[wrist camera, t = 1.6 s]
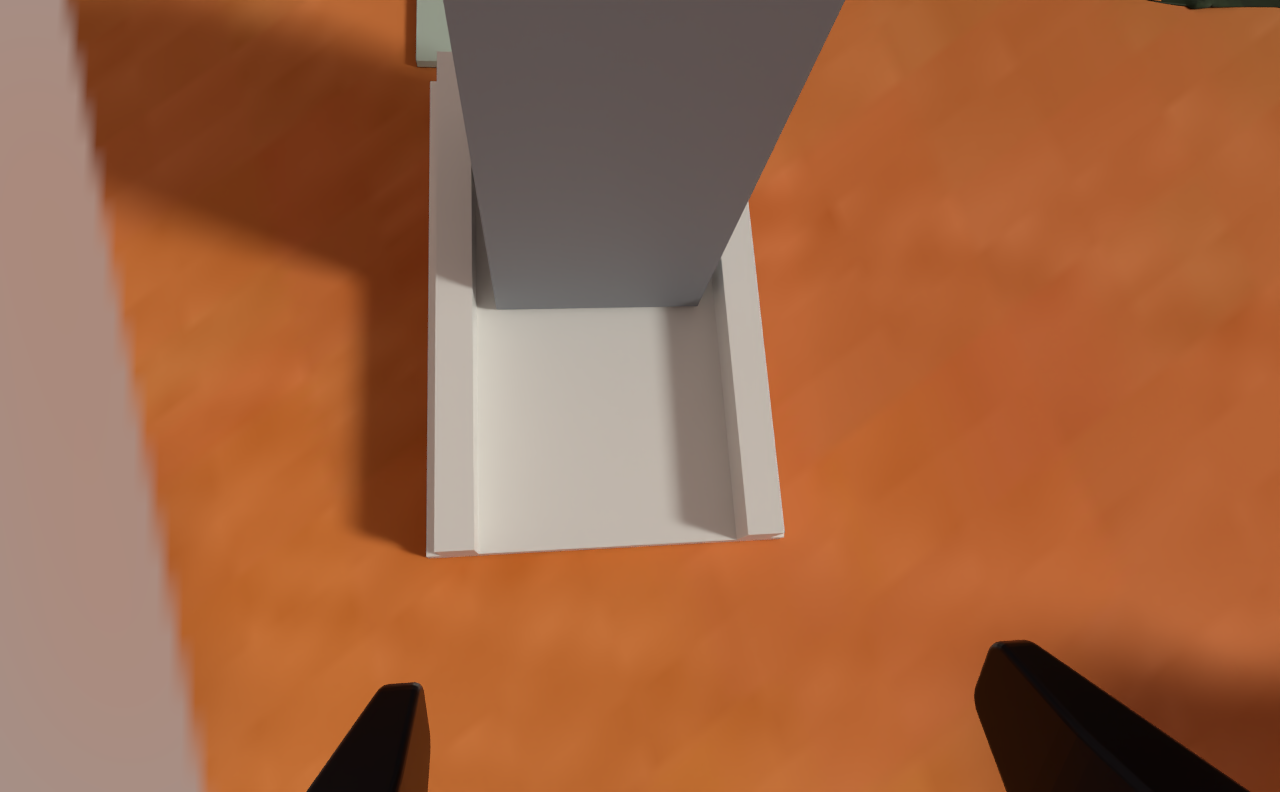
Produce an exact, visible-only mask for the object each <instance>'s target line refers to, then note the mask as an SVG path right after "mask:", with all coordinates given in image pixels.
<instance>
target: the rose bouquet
mask: <svg viewBox="0 0 1280 792" xmlns="http://www.w3.org/2000/svg"><path fill="white" fill-rule="evenodd" d="M1149 1H1154V2H1160V3H1166V4H1172V5H1179V6H1188V7H1190V8H1192V9H1200V8H1209V7H1279V8H1280V0H1161V1H1155V0H1149Z"/></svg>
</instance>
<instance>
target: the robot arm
mask: <svg viewBox="0 0 1280 792" xmlns="http://www.w3.org/2000/svg"><path fill="white" fill-rule="evenodd" d="M974 699H975V706H976V710H977V713H978V716H979V719H980V722H981V724H982V727H983V730H984V732H985V735H986V738H987V740H988V743H989V746H990V748H991V751H992V754H993V756H994V759H995V762H996V764H997V767H998V770H999V773H1000V775H1001V778H1002V781H1003V783H1004V786H1005V789H1006V791H1007V792H1250V791H1249V790H1247V789H1246V788H1244V787H1243V786H1241V785H1240V784H1238V783H1237V782H1235V781H1234V780H1233V779H1231V778H1230V777H1228V776H1227V775H1225V774H1224V773H1222V772H1221V771H1220V770H1218V769H1217V768H1215V767H1214V766H1212V765H1211V764H1209V763H1208V762H1206V761H1205V760H1204V759H1202V758H1201V757H1199V756H1198V755H1196V754H1195V753H1193V752H1192V751H1190V750H1189V749H1188V748H1186V747H1185V746H1183V745H1182V744H1180V743H1179V742H1177V741H1176V740H1175V739H1173V738H1172V737H1170V736H1169V735H1167V734H1166V733H1164V732H1163V731H1161V730H1160V729H1159V728H1157V727H1156V726H1154V725H1153V724H1151V723H1150V722H1148V721H1147V720H1145V719H1144V718H1143V717H1141V716H1140V715H1138V714H1137V713H1135V712H1134V711H1132V710H1131V709H1130V708H1128V707H1127V706H1125V705H1124V704H1122V703H1121V702H1119V701H1118V700H1116V699H1115V698H1114V697H1112V696H1111V695H1109V694H1108V693H1106V692H1105V691H1103V690H1102V689H1100V688H1099V687H1098V686H1096V685H1095V684H1093V683H1092V682H1090V681H1089V680H1087V679H1086V678H1085V677H1083V676H1082V675H1080V674H1079V673H1077V672H1076V671H1074V670H1073V669H1071V668H1070V667H1069V666H1067V665H1066V664H1064V663H1063V662H1061V661H1060V660H1058V659H1057V658H1055V657H1054V656H1053V655H1051V654H1050V653H1048V652H1047V651H1045V650H1044V649H1042V648H1041V647H1040V646H1038V645H1036V644H1035V643H1033V642H1030V641H1027V640H1013V641H999V642H996V643H994V644H993V645H992V646H991V647H990V649H989V651H988V653H987V656H986V659H985V662H984V665H983V667H982V670H981V673H980V676H979V679H978V681H977V684H976V687H975V694H974ZM429 763H430V731H429V724H428V717H427V710H426V703H425V696H424V690H423V687H422V686H421V684H419V683H416V682H412V683H398V684H388V685H384V686H383V687H381V688H380V689H379V690H378V691H377V692H376V694H375V695H374V697H373V698H372V699H371V701H370V702H369V704H368V705H367V706H366V708H365V709H364V711H363V712H362V714H361V715H360V716H359V718H358V719H357V721H356V722H355V723H354V725H353V726H352V728H351V729H350V731H349V732H348V733H347V735H346V736H345V738H344V739H343V741H342V742H341V743H340V745H339V746H338V748H337V749H336V750H335V752H334V753H333V755H332V756H331V758H330V759H329V760H328V762H327V763H326V765H325V766H324V767H323V769H322V770H321V772H320V773H319V775H318V776H317V777H316V779H315V780H314V782H313V783H312V784H311V786H310V787H309V789H308V790H307V792H428V778H429Z"/></svg>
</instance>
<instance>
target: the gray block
mask: <svg viewBox="0 0 1280 792" xmlns="http://www.w3.org/2000/svg"><path fill="white" fill-rule="evenodd" d="M844 1H845V0H443V3H444V9H445V15H446V21H447V26H448V32H449V38H450V44H451V49H452V55H453V61H454V67H455V73H456V78H457V84H458V90H459V96H460V101H461V107H462V113H463V119H464V125H465V130H466V136H467V142H468V148H469V153H470V159H471V165H472V171H473V177H474V182H475V188H476V194H477V200H478V205H479V211H480V217H481V223H482V228H483V234H484V240H485V246H486V252H487V257H488V263H489V269H490V275H491V280H492V286H493V292H494V298H495V304H496V309H497V310H508V309H566V308H624V307H682V306H698V304H699V302H700V300H701V298H702V296H703V294H704V292H705V290H706V287H707V285H708V283H709V281H710V279H711V277H712V275H713V273H714V271H715V269H716V267H717V265H718V263H719V260H720V258H721V256H722V254H723V252H724V250H725V248H726V246H727V244H728V242H729V240H730V238H731V236H732V234H733V231H734V229H735V227H736V225H737V223H738V221H739V219H740V217H741V215H742V213H743V211H744V209H745V207H746V204H747V202H748V200H749V198H750V196H751V194H752V192H753V190H754V188H755V186H756V184H757V182H758V180H759V178H760V175H761V173H762V171H763V169H764V167H765V165H766V163H767V161H768V159H769V157H770V155H771V153H772V151H773V149H774V146H775V144H776V142H777V140H778V138H779V136H780V134H781V132H782V130H783V128H784V126H785V124H786V122H787V119H788V117H789V115H790V113H791V111H792V109H793V107H794V105H795V103H796V101H797V99H798V97H799V95H800V93H801V90H802V88H803V86H804V84H805V82H806V80H807V78H808V76H809V74H810V72H811V70H812V68H813V66H814V63H815V61H816V59H817V57H818V55H819V53H820V51H821V49H822V47H823V45H824V43H825V41H826V39H827V37H828V34H829V32H830V30H831V28H832V26H833V24H834V22H835V20H836V18H837V16H838V14H839V12H840V10H841V7H842V5H843V3H844Z"/></svg>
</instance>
